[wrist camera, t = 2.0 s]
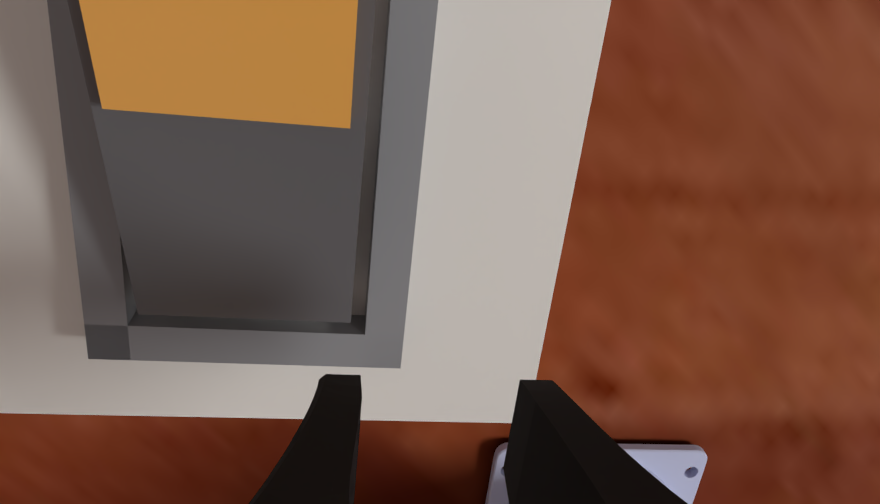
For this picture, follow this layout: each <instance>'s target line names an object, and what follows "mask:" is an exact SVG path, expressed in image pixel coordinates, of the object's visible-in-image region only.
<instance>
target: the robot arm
mask: <svg viewBox="0 0 880 504" xmlns="http://www.w3.org/2000/svg"><path fill="white" fill-rule="evenodd" d="M361 404H362V388H361V375H344V374H325V375H324V376H323V377H321V378H320V379H319V381H318V386H317V389H316V392H315V395H314V397H313V400H312V402H311V404H310V407H309V409H308V411H307V413H306V415H305V417H304V419H303V421H302V423H301V425H300V427H299V428H298V430H297V432H296V434H295V435H294V437H293V439H292V441H291V442H290V444H289V446H288V448H287V449H286V451H285V453H284V454H283V456H282V457H281V459H280V460H279V462H278V463H277V465H276V466H275V468H274V469H273V471H272V472H271V474H270V475H269V477H268V478H267V480H266V481H265V483H264V484H263V485H262V487H261V488H260V489H259V491H258V492H257V493H256V495H255V496H254V497H253V499H252V500H251V501H250V503H249V504H354V494H355V482H356V469H357V456H358V443H359V430H360V417H361ZM706 462H707V455H706V453H705V452H704V450H703V449H702V448H701V447H700V446H697V445H671V444H617V443H616V442H615V441H614V440H613V439H612V438H611V437H610V436H609V435H607V434H606V433H605V432H604V431H603V430H602V429H601V428H600V427H599V426H598V425H597V424H596V423H595V422H594V421H593V420H592V419H591V418H590V417H589V416H588V415H587V414H586V413H585V412H584V411H583V410H582V409H581V408H580V407H579V406H578V405H577V404H576V403H575V402H574V401H573V400H572V399H571V398H570V397H569V396H568V395H567V394H566V393H565V392H564V391H563V390H562V389H561V388H560V387H559V386H558V385H557V384H556V383H554V382H553V381H552V380H520V382H519V387H518V392H517V397H516V403H515V408H514V413H513V419H512V424H511V429H510V435H509V440H508V442H507V443H503V444H501V445H499V446H498V447H497V448H496V450H495V452H494V457H493V463H492V469H491V474H490V480H489V485H488V491H487V496H486V502H485V504H692V503H693V500H694V498H695V495H696V492H697V489H698V486H699V483H700V480H701V477H702V474H703V471H704V468H705V465H706ZM502 467H503V468H502ZM690 467H692V468H691V469H689V470H687V469H688V468H690Z"/></svg>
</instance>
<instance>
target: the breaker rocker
mask: <svg viewBox="0 0 880 504" xmlns="http://www.w3.org/2000/svg"><path fill="white" fill-rule="evenodd" d="M67 2H68V6H69V11H70V15H71V20H72V24H73V28H74V33H75V37H76V42H77V46H78V51H79V55H80V59H81V64H82V68H83V73H84V77H85V82H86V86H87V90H88V95H89V99H90V104H91V108H92V113H93V117H94V121H95V126H96V130H97V135H98V139H99V144H100V148H101V152H102V157H103V161H104V166H105V170H106V175H107V179H108V183H109V188H110V192H111V197H112V201H113V206H114V210H115V214H116V219H117V223H118V228H119V232H120V237H121V241H122V245H123V250H124V254H125V259H126V263H127V268H128V272H129V276H130V281H131V285H132V290H133V294H134V299H135V303H136V307H137V312H138V314H142V315H167V316H192V317H218V318H243V319H268V320H294V321H319V322H344V323H351V312H352V299H353V286H354V273H355V260H356V248H357V235H358V222H359V209H360V196H361V183H362V171H363V158H364V145H365V132H366V119H367V107H368V94H369V81H370V68H371V55H372V42H373V30H374V17H375V4H376V0H67Z"/></svg>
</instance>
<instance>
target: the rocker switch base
mask: <svg viewBox="0 0 880 504" xmlns="http://www.w3.org/2000/svg"><path fill="white" fill-rule="evenodd" d="M610 4H611V0H376V4H375V17H374V30H373V42H372V55H371V68H370V81H369V94H368V107H367V119H366V132H365V145H364V158H363V171H362V183H361V196H360V209H359V222H358V235H357V248H356V260H355V273H354V286H353V299H352V312H351V323H344V322H319V321H294V320H268V319H243V318H218V317H192V316H167V315H142V314H138V312H137V307H136V303H135V299H134V294H133V290H132V285H131V281H130V276H129V272H128V268H127V263H126V259H125V254H124V250H123V245H122V241H121V237H120V232H119V228H118V223H117V219H116V214H115V210H114V206H113V201H112V197H111V192H110V188H109V183H108V179H107V175H106V170H105V166H104V161H103V157H102V152H101V148H100V144H99V139H98V135H97V130H96V126H95V121H94V117H93V113H92V108H91V104H90V99H89V95H88V90H87V86H86V82H85V77H84V73H83V68H82V64H81V59H80V55H79V51H78V46H77V42H76V37H75V33H74V28H73V24H72V20H71V15H70V11H69V6H68V2H67V0H0V413H23V414H74V415H126V416H177V417H229V418H280V419H304V417H305V415H306V413H307V411H308V409H309V407H310V404H311V402H312V400H313V397H314V395H315V392H316V389H317V386H318V381H319V379H320V378H321V377H323V376H324V375H325V374H344V375H361V388H362V404H361V417H360V420H383V421H435V422H487V423H512V419H513V413H514V408H515V403H516V397H517V392H518V387H519V382H520V380H536V376H537V371H538V366H539V361H540V356H541V351H542V346H543V341H544V336H545V331H546V326H547V321H548V316H549V311H550V306H551V301H552V296H553V291H554V285H555V280H556V275H557V270H558V265H559V260H560V255H561V250H562V245H563V240H564V235H565V230H566V225H567V220H568V215H569V210H570V205H571V200H572V195H573V190H574V185H575V180H576V175H577V170H578V165H579V160H580V155H581V150H582V145H583V140H584V135H585V130H586V125H587V120H588V115H589V110H590V105H591V100H592V95H593V90H594V85H595V80H596V74H597V69H598V64H599V59H600V54H601V49H602V44H603V39H604V34H605V29H606V24H607V19H608V14H609V9H610Z"/></svg>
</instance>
